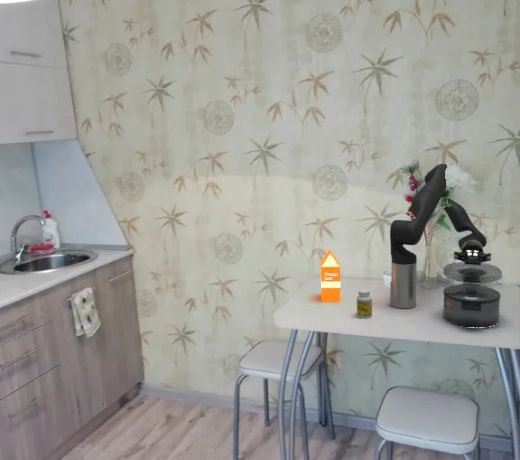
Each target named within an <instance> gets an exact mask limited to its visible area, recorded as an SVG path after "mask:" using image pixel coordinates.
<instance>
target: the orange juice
mask: <svg viewBox="0 0 520 460" xmlns="http://www.w3.org/2000/svg"><path fill="white" fill-rule="evenodd" d="M320 287H321V288H320V292H321V293H320V294H321V296H320V297H321V303H341V302H342V301H341V299H342V297H341V264H340V261H339V260H338V259H337V257H336V256H335V255H334V254H333V252H332V251H331V249H330V248H329V249H328V251H327V252H326V253H325V255H324V256H323V258H322V259H321V260H320Z"/></svg>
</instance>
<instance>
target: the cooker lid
mask: <svg viewBox="0 0 520 460" xmlns="http://www.w3.org/2000/svg"><path fill="white" fill-rule="evenodd" d="M442 273H443V276H445V277H446V278H448V279H449V280H452V281H457V282H460V283H474V284H487V283H488V284H489V283H494V282H497V281H499V280H500V279H502V278H503V271H502V269H500V268H499V267H498V266H495V265H492V264H489V263H485V262H482V263H481V261H477V260H465V262H463V261H458V262H453V263H449V264H447V265H445V266H444V267H443V270H442Z"/></svg>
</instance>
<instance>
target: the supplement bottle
mask: <svg viewBox="0 0 520 460" xmlns="http://www.w3.org/2000/svg"><path fill="white" fill-rule="evenodd" d="M357 293H358V295H357V297H356V316H357V317H359V318H361V319H369V318H371V317H372V315H373V307H372V306H373V299H372V296H371V294H370V293H371V292H370V290H369V289H364V288H363V289H359V290H358V292H357Z"/></svg>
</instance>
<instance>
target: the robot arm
mask: <svg viewBox="0 0 520 460" xmlns="http://www.w3.org/2000/svg"><path fill="white" fill-rule="evenodd" d="M446 164H447V163H439V164H437V165H435V166H434V167H432V169H431V170H430V171H428V172H427V173H426V174H427V175H426V174H425V175H426V176H425V175H424V177H425V178H424V183H425V184H424V185H423V186H422V187H421V188H420V189H419V190H418V191H417V192H416V195H414V197H413V199H412V201H411V204H410V208H411V211H412V213H413V215H414V217H415V219H414V220H408V219H407V220H403V219H395V220H393V221H392V222H391V224H390V228H389V229H390V230H389V243H390V245H389V246H390V257H391V280H390V283H389V284H390V285H389V286H390V287H389V288H390V293H389V296H390V297H389V298H390V299H389V300H390V301H389V302H390V307H395V308H397V309H413V308H416V306H417V269H418V268H417V262H418V261H417V260H418V259H417V255H416V254H415V253H414V252H412V251H410V250H409V249H407V248H406V247H405V246H416V245H417V244H418V243H419V242H420V241H421V239H422V237H423V235H424V231H425V229H426V227H427V224H428V222H429V221H430V219H431V216H432V215H433V214H434V212H435V210H436V208H437V206H438V204H439V200H440V198H441V197H442V194H443V191H444V189H445V190H446V189H447V188H446V179H445V170H446V168H447V165H448V164H447V165H446ZM444 192H445V191H444ZM448 203H449V204H452V206H450V207H445V208H443V207H442V209H443V210H444V211H445V213H446V214H447V216H448V219H449V220H450V222H451V224H452V226H453V227H454V230H455V231H456V232H457V233H463V232H468V231H469V232H471V233H470V234H467V235H465V236H463V237H461V238H459V239H458V242H457V243H458V244H457V245H458V247H459V249H460V251H459V252H458V251H454V252H453V253H454V254H453V258H454V260H457V261H459V262H465V260H477V261H481V263H485V262H490V261H492V253H491V252H490V253H489V252H487V253H485V252H484V248H485V247H486V246H487V242H488V241H487V237H486V236H485V235H484V234H483V233H482V232H481V231H480V229H478V228H477V227H476V226H475V224H474V223H473V222H472V220H471V218H470V216H469V215H468V212H467V211H466V210H465V208H464V206H462V205H461V204H460V203H458V202H456V201H454V200H453V199H451V197H449V199H448Z"/></svg>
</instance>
